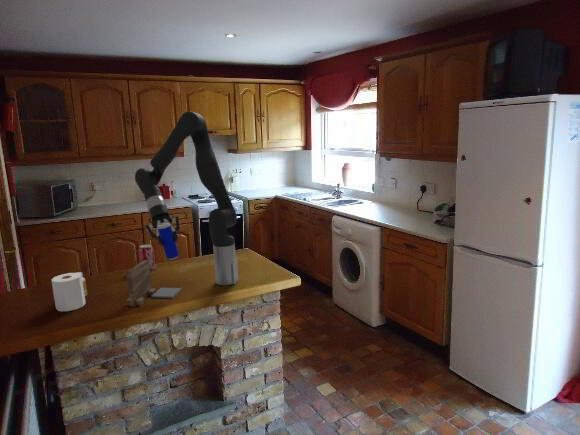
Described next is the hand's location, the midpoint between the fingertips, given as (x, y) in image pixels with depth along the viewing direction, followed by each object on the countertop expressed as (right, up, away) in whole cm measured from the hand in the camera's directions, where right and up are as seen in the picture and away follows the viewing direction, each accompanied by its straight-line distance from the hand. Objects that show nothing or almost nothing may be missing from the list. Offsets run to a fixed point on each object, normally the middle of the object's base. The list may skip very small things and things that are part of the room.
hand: (169, 242), depth 173 cm
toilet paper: (-37, -25, -6) cm, 45 cm away
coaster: (-2, -21, +3) cm, 22 cm away
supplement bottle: (-38, -22, +4) cm, 45 cm away
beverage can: (+1, -6, +4) cm, 8 cm away
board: (-11, -22, -1) cm, 25 cm away
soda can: (-20, -15, +35) cm, 43 cm away
